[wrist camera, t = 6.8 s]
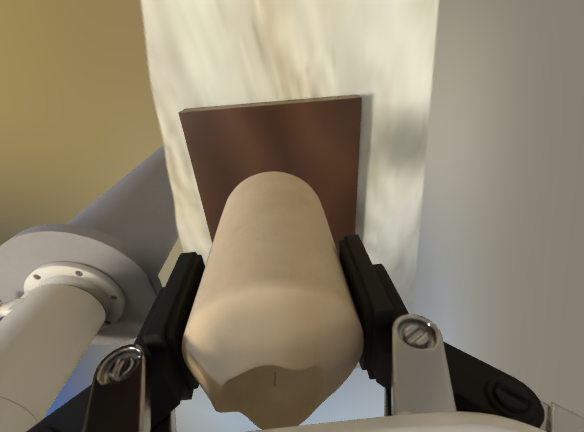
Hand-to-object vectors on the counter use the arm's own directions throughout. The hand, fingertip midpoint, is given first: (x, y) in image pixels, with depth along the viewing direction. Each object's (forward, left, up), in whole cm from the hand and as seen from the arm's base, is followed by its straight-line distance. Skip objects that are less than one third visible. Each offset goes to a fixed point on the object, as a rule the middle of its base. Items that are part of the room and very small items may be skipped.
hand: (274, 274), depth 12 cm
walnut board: (0, -6, -19) cm, 20 cm away
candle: (0, 0, -5) cm, 5 cm away
